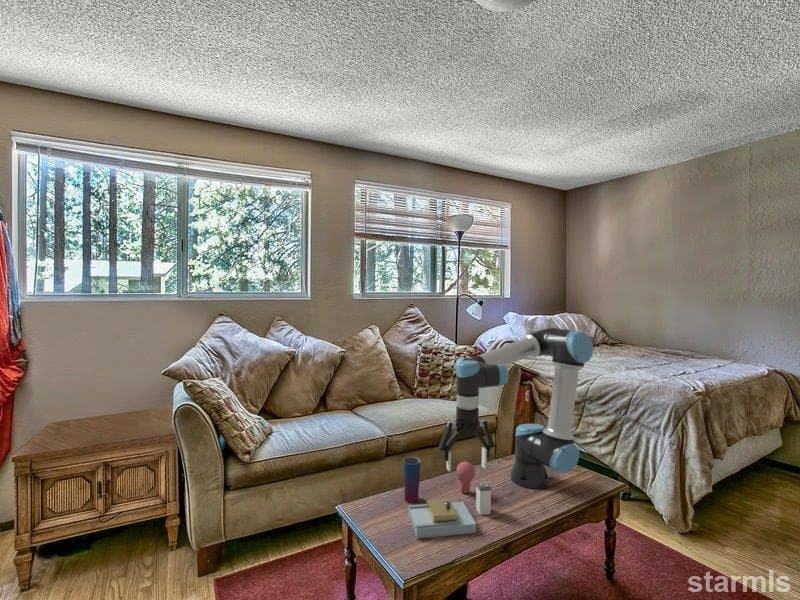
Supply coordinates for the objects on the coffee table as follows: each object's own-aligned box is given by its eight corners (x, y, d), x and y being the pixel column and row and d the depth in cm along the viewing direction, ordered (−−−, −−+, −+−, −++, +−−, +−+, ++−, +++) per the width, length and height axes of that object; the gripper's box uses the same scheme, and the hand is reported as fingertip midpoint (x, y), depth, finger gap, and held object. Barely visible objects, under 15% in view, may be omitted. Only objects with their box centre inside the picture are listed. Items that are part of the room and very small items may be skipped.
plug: (486, 507, 152) (486, 480, 151) (490, 513, 148) (491, 485, 147) (475, 508, 151) (476, 481, 151) (479, 514, 147) (480, 486, 147)
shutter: (448, 505, 147) (448, 495, 147) (456, 521, 137) (457, 510, 137) (426, 507, 146) (426, 496, 145) (433, 523, 136) (433, 512, 136)
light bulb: (474, 498, 159) (474, 467, 158) (455, 495, 160) (455, 465, 160) (474, 489, 166) (475, 459, 165) (456, 487, 167) (457, 457, 166)
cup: (406, 505, 153) (407, 465, 152) (399, 496, 159) (399, 458, 158) (423, 501, 155) (423, 462, 155) (415, 493, 162) (416, 455, 161)
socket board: (462, 509, 150) (462, 500, 150) (476, 532, 136) (476, 522, 136) (408, 514, 147) (408, 504, 147) (416, 538, 133) (416, 527, 133)
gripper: (496, 402, 147) (495, 461, 148) (430, 404, 143) (429, 465, 144) (505, 408, 140) (504, 471, 141) (435, 411, 136) (434, 475, 137)
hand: (466, 468), depth 143 cm, fingers open, 12 cm apart
